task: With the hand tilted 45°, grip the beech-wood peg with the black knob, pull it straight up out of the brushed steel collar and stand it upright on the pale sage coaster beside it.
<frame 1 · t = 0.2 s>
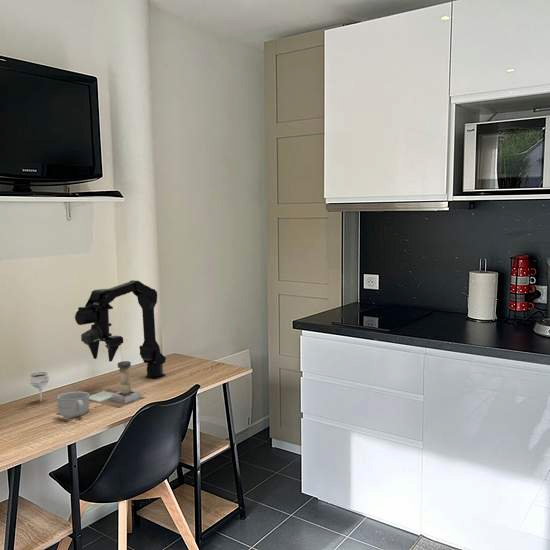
hand: (102, 360, 219), 14 cm above the table, tool pointing down, fingers open, 9 cm apart
board: (113, 401, 213), on the table
coaster: (101, 397, 214), resting on board
peg: (125, 381, 210), in the collar, point 8 cm above the table, touching board
collar: (126, 396, 211), on the board, point 2 cm above the table
wineglass: (41, 405, 212), on the table
teacup: (75, 418, 197), on the table
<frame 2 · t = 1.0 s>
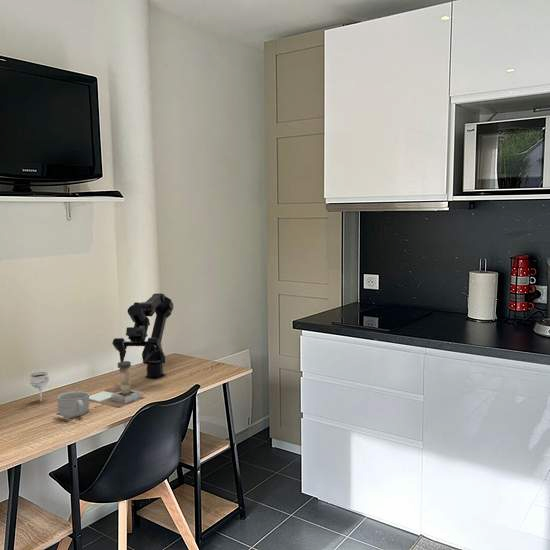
hand: (132, 362, 218), 13 cm above the table, tool tilted 45°, fingers open, 9 cm apart
nothing on the table moved.
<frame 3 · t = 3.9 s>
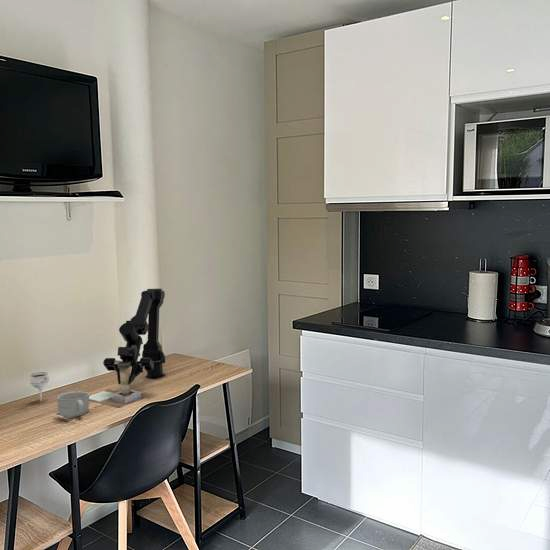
hand: (124, 383, 209), 8 cm above the table, tool tilted 45°, fingers closed on peg, 4 cm apart
peg: (125, 381, 210), in the collar, point 8 cm above the table, touching board, gripper
everything else where it was.
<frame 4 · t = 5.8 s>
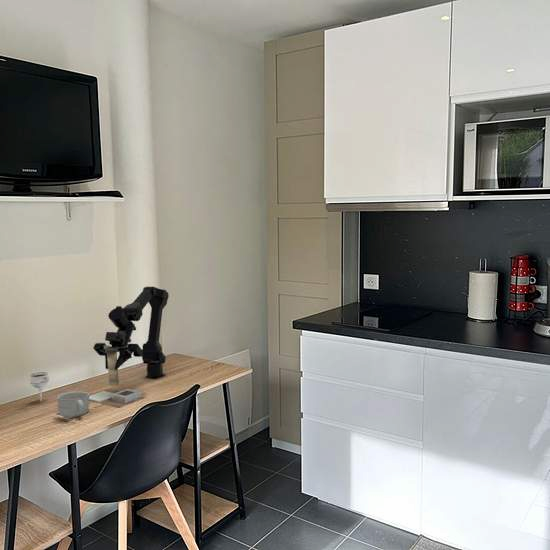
hand: (110, 368, 209), 13 cm above the table, tool tilted 45°, fingers closed on peg, 4 cm apart
peg: (112, 366, 210), point 14 cm above the table, touching gripper
everything else where it was.
when the fingers open (9 cm above the table, at t = 7.6 s): peg stays where it is, resting on coaster.
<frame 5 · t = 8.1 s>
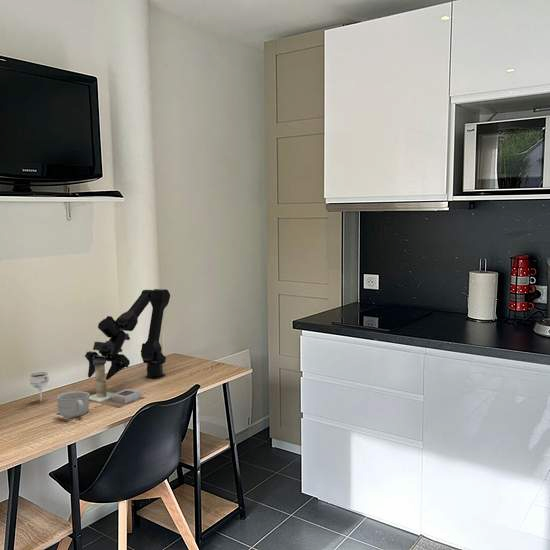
hand: (97, 378, 212), 9 cm above the table, tool tilted 45°, fingers open, 9 cm apart
peg: (100, 377, 214), on the coaster, point 9 cm above the table
everything else where it was.
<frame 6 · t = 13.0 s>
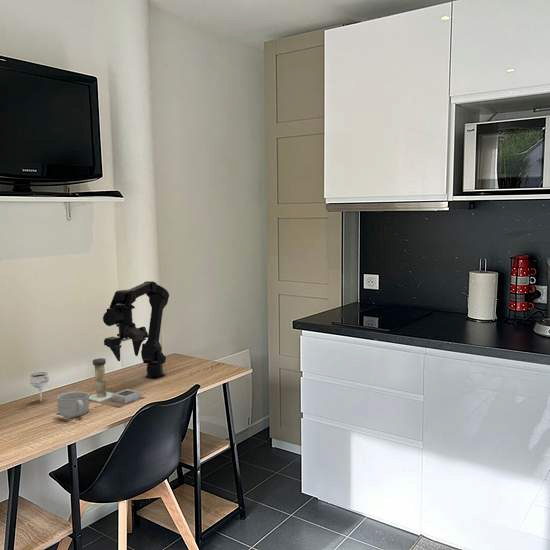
hand: (127, 358, 226), 13 cm above the table, tool pointing down, fingers open, 9 cm apart
nothing on the table moved.
at the end: peg 0.0 cm off-centre on the coaster, point 7.7 cm above the coaster's base; peg tilted 1°; the gripper is holding nothing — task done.
